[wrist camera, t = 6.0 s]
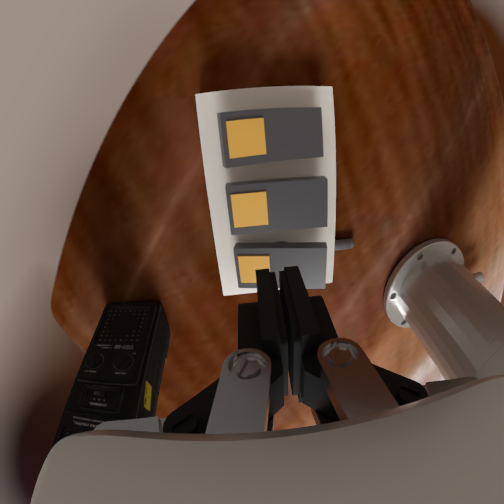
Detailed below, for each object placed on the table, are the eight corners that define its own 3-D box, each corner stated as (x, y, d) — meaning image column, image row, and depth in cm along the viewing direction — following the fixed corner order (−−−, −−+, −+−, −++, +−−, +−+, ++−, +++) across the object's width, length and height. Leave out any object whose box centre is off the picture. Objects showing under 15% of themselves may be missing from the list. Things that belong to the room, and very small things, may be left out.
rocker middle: (321, 173, 20) (328, 179, 19) (321, 218, 22) (327, 227, 20) (226, 180, 20) (225, 186, 19) (232, 225, 22) (231, 235, 20)
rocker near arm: (325, 237, 22) (327, 248, 20) (323, 276, 24) (325, 289, 22) (237, 238, 23) (232, 249, 22) (242, 276, 25) (238, 288, 23)
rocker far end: (308, 107, 19) (322, 107, 17) (311, 153, 21) (324, 157, 19) (214, 113, 17) (220, 112, 16) (220, 164, 19) (226, 168, 17)
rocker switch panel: (352, 90, 21) (367, 88, 18) (350, 262, 28) (361, 278, 26) (199, 96, 20) (195, 94, 18) (223, 277, 28) (223, 295, 25)
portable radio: (169, 296, 29) (123, 554, 7) (181, 338, 31) (160, 558, 9) (104, 299, 28) (22, 514, 6) (120, 339, 31) (69, 533, 9)
